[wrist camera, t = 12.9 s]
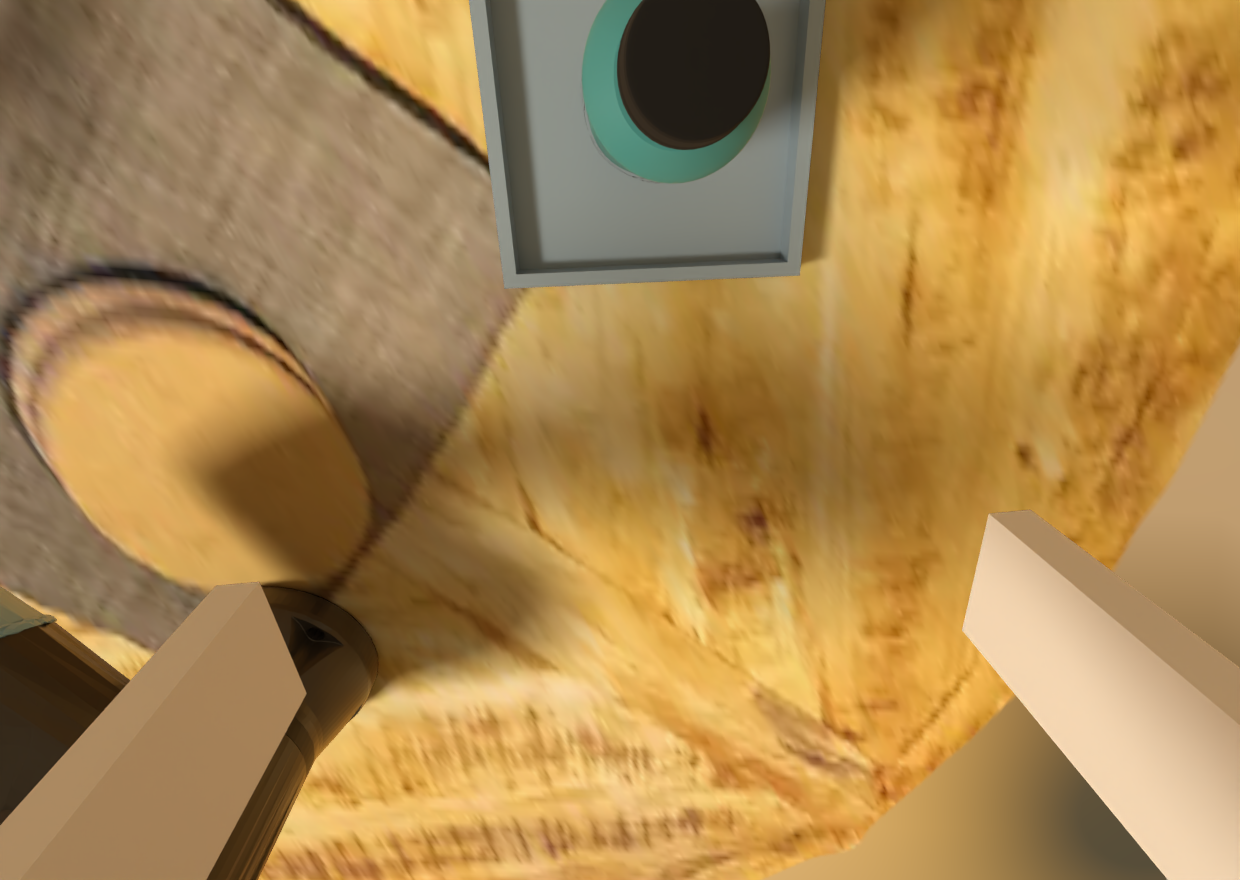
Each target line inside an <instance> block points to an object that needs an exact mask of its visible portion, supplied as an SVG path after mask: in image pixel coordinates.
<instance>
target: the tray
mask: <svg viewBox="0 0 1240 880" xmlns="http://www.w3.org/2000/svg"><path fill="white" fill-rule="evenodd" d="M605 1H606V0H469V5H470V13H471V21H472V29H473V37H474V45H475V53H476V61H477V69H478V77H479V86H480V94H481V102H482V110H483V118H484V126H485V134H486V142H487V150H488V158H489V167H490V175H491V183H492V191H493V199H494V207H495V215H496V223H497V231H498V239H499V248H500V256H501V264H502V272H503V280H504V288H505V289H507V288H529V287H551V286H574V285H596V284H619V283H641V282H663V281H686V280H708V279H730V278H753V277H775V276H797V275H800V267H801V257H802V246H803V235H804V225H805V214H806V203H807V193H808V182H809V171H810V161H811V150H812V139H813V129H814V118H815V108H816V97H817V86H818V76H819V65H820V54H821V44H822V33H823V22H824V12H825V1H826V0H756V1H757V3H758V4H759V6H760V8H761V10H762V12H763V15H764V18H765V20H766V24H767V28H768V33H769V40H770V57H771V80H770V89H769V94H768V99H767V103H766V106H765V109H764V112H763V115H762V118H761V120H760V122H759V124H758V126H757V128H756V130H755V132H754V134H753V135H752V137H751V139H750V140H749V141H748V143H747V144H746V145H745V147H744V148H743V149H742V150H741V151H740V152H739V154H738V155H737V156H736V157H735V158H734V159H733V160H731V161H730V162H729V163H728V164H726V165H725V166H724V167H722V168H721V169H719V170H718V171H716V172H714V173H712V174H710V175H708V176H706V177H704V178H701V179H698V180H695V181H691V182H685V183H673V184H669V183H659V182H657V183H656V182H655V181H652V182H650V181H651V180H647V179H645V178H642V177H640V176H637V175H636V174H634V173H632V172H629V171H626V170H624V169H622V168H620V167H618V166H617V165H615V164H614V163H612V162H611V161H610V160H609V159H608V158H607V157H606V156H605V155H603V152H602V151H601V150H600V148H599V147H598V145H597V143H596V141H595V139H594V137H593V134H592V131H591V128H590V124H589V120H588V115H587V112H586V108H585V107H583V106H585V104H584V99H583V91H582V80H581V79H582V63H583V54H584V49H585V45H586V41H587V38H588V34H589V31H590V28H591V26H592V24H593V22H594V19H595V17H596V15H597V14H598V12H599V10H600V9H601V7H602V6H603V4H604V3H605ZM582 100H583V102H582ZM584 114H585V116H584ZM585 118H586V119H585ZM585 120H586V121H585ZM586 124H587V125H586ZM587 128H588V129H587ZM588 130H589V131H588ZM591 137H592V138H591ZM593 140H594V141H593ZM594 145H595V146H596V147H595V146H594ZM600 151H601V152H602V153H601V152H600ZM601 155H602V156H603V157H602V156H601ZM605 158H607V159H608V160H606V159H605ZM609 163H610V164H612V165H610V164H609ZM613 165H614V166H613ZM615 166H616V167H615ZM625 173H626V174H625ZM629 175H630V176H629ZM632 176H634V178H633V177H632ZM635 176H636V177H638V178H636V177H635ZM643 179H644V180H645V181H642V180H643ZM647 181H648V182H647ZM649 182H650V183H649ZM653 182H654V183H653Z"/></svg>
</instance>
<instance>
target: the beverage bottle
mask: <svg viewBox="0 0 1240 880" xmlns="http://www.w3.org/2000/svg"><path fill="white" fill-rule="evenodd" d="M581 80H582V91H583V99H584V104H585V106H583V107H585V108H586V112H587V115H588V120H589V124H590V128H591V131H592V134H593V137H594V139H595V141H596V143H597V145H598V147H599V148H600V150H601V151H602V152H603V155H605V156H606V157H607V158H608V159H609V160H610V161H611V162H612V163H614V164H615V165H617V166H618V167H620V168H622V169H624V170H626V171H629V172H632V173H634V174H636V175H637V176H640V177H642V178H645V179H647V180H651V181H650V182H652V181H655V182H656V183H657V182H659V183H669V184H673V183H685V182H691V181H695V180H698V179H701V178H704V177H706V176H708V175H710V174H712V173H714V172H716V171H718V170H719V169H721V168H722V167H724V166H725V165H726V164H728V163H729V162H730V161H731V160H733V159H734V158H735V157H736V156H737V155H738V154H739V152H740V151H741V150H742V149H743V148H744V147H745V145H746V144H747V143H748V141H749V140H750V139H751V137H752V135H753V134H754V132H755V130H756V128H757V126H758V124H759V122H760V120H761V118H762V115H763V112H764V109H765V106H766V103H767V99H768V94H769V89H770V80H771V57H770V40H769V33H768V28H767V24H766V20H765V18H764V15H763V12H762V10H761V8H760V6H759V4H758V3H757V1H756V0H606V1H605V3H604V4H603V6H602V7H601V9H600V10H599V12H598V14H597V15H596V17H595V19H594V22H593V24H592V26H591V28H590V31H589V34H588V38H587V41H586V45H585V49H584V54H583V63H582V79H581ZM582 102H583V100H582ZM584 116H585V114H584ZM585 119H586V118H585ZM585 121H586V120H585ZM586 125H587V124H586ZM587 129H588V128H587ZM588 131H589V130H588ZM591 138H592V137H591ZM593 141H594V140H593ZM594 146H595V145H594ZM595 147H596V146H595ZM601 151H600V152H601ZM602 152H601V153H602ZM601 156H602V155H601ZM602 157H603V156H602ZM607 158H605V159H606V160H608V159H607ZM609 164H610V163H609ZM610 165H612V164H610ZM613 166H614V165H613ZM615 167H616V166H615ZM625 174H626V173H625ZM629 176H630V175H629ZM632 177H633V178H634V176H632ZM635 177H636V176H635ZM636 178H638V177H636ZM642 181H645V180H644V179H643V180H642ZM647 182H648V181H647ZM650 182H649V183H650ZM653 183H654V182H653Z"/></svg>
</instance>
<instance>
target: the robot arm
mask: <svg viewBox="0 0 1240 880" xmlns="http://www.w3.org/2000/svg"><path fill="white" fill-rule="evenodd" d="M56 621H57V619H56V618H55V617H53V616H51V615H43V614H42V613H40V612H38V611H37V610H35V609H34V608H32V607H30V606H29V605H27V604H26V603H24V602H23V601H22V600H20V599H19V598H17V597H16V596H14V595H13V594H11V593H10V592H8V591H7V590H5V589H4V588H2V587H0V880H258V879H259V876H260V874H261V872H262V870H263V868H264V866H265V864H266V862H267V860H268V857H269V855H270V853H271V851H272V849H273V847H274V845H275V843H276V841H277V838H278V836H279V834H280V832H281V830H282V828H283V826H284V824H285V821H286V819H287V817H288V815H289V813H290V811H291V809H292V807H293V805H294V802H295V800H296V798H297V796H298V794H299V792H300V790H301V788H302V786H303V783H304V781H305V779H306V777H307V775H308V773H309V771H310V769H311V767H312V765H313V763H314V761H315V759H316V758H317V757H318V756H319V755H320V753H321V752H322V751H323V750H324V749H325V748H326V747H327V746H328V745H329V743H330V742H331V741H332V740H333V739H334V738H335V737H336V736H337V734H338V733H339V732H340V731H341V730H342V729H343V727H344V726H345V725H346V724H347V723H348V722H349V721H350V720H351V719H352V718H353V717H354V716H355V715H356V714H357V713H358V712H359V711H360V710H361V708H362V707H363V705H364V704H365V702H366V700H367V698H368V696H369V693H370V691H371V689H372V687H373V684H374V682H375V680H376V677H377V672H378V658H377V653H376V650H375V647H374V644H373V642H372V640H371V639H370V637H369V635H368V634H367V632H366V631H365V630H364V628H363V627H362V626H361V625H360V624H359V623H358V622H357V621H356V620H355V619H354V618H353V617H352V616H350V615H349V614H348V613H346V612H345V611H344V610H342V609H341V608H339V607H338V606H336V605H334V604H332V603H331V602H329V601H327V600H324V599H322V598H320V597H317V596H315V595H312V594H309V593H306V592H302V591H298V590H293V589H287V588H278V587H261V584H260V582H251V583H240V584H230V585H219V586H215V587H214V588H213V590H212V591H211V592H210V593H209V594H208V595H207V596H206V597H205V598H204V600H203V601H202V602H201V603H200V604H199V605H198V606H197V607H196V608H195V610H194V611H193V612H192V613H191V614H190V615H189V616H188V617H187V618H186V620H185V621H184V622H183V623H182V624H181V625H180V626H179V627H178V628H177V630H176V631H175V632H174V633H173V634H172V635H171V636H170V637H169V638H168V640H167V641H166V642H165V643H164V644H163V645H162V646H161V647H160V648H159V650H158V651H157V652H156V653H155V654H154V655H153V656H152V657H151V658H150V660H149V661H148V662H147V663H146V664H145V665H144V666H143V667H142V668H141V670H140V671H139V672H138V673H137V674H136V675H135V676H134V677H133V678H132V680H131V681H130V680H129V679H128V678H126V677H125V676H124V675H122V674H121V673H120V672H118V671H117V670H116V669H115V668H113V667H112V666H111V665H109V664H108V663H107V662H106V661H104V660H103V659H102V658H100V657H99V656H98V655H97V654H95V653H94V652H93V651H91V650H90V649H89V648H88V647H86V646H85V645H84V644H82V643H81V642H80V641H79V640H77V639H76V638H75V637H73V636H72V635H71V634H70V633H68V632H67V631H66V630H64V629H63V628H62V627H61V626H59V625H58V624H57V623H55V622H56ZM962 631H963V632H964V633H965V634H966V635H967V637H968V638H969V639H970V640H971V641H972V643H973V644H974V645H975V646H976V648H977V649H978V650H979V651H980V652H981V654H982V655H983V656H984V657H985V658H986V660H987V661H988V662H989V663H990V665H991V666H992V667H993V668H994V669H995V671H996V672H997V673H998V674H999V675H1000V677H1001V678H1002V679H1003V680H1004V681H1005V683H1006V684H1007V685H1008V686H1009V688H1010V689H1011V690H1012V691H1013V692H1014V694H1015V695H1016V696H1017V697H1018V698H1019V700H1020V701H1021V702H1022V703H1023V704H1024V706H1025V707H1026V708H1027V709H1028V710H1029V712H1030V713H1031V714H1032V715H1033V717H1034V718H1035V719H1036V720H1037V721H1038V723H1039V724H1040V725H1041V726H1042V728H1043V729H1044V730H1045V731H1046V732H1047V734H1048V735H1049V736H1050V737H1051V738H1052V740H1053V741H1054V742H1055V743H1056V745H1057V746H1058V747H1059V748H1060V749H1061V751H1062V752H1063V753H1064V754H1065V755H1066V756H1067V758H1068V759H1069V760H1070V762H1071V763H1072V764H1073V765H1074V766H1075V768H1076V769H1077V770H1078V771H1079V772H1080V774H1081V775H1082V776H1083V777H1084V778H1085V780H1086V781H1087V782H1088V783H1089V784H1090V786H1091V787H1092V788H1093V789H1094V790H1095V792H1096V793H1097V794H1098V796H1099V797H1100V798H1101V799H1102V800H1103V802H1104V803H1105V804H1106V805H1107V806H1108V808H1109V809H1110V810H1111V811H1112V813H1114V815H1115V816H1116V817H1117V819H1118V820H1119V821H1120V822H1121V823H1122V824H1123V826H1124V827H1125V828H1126V829H1127V831H1128V832H1129V833H1130V834H1131V836H1132V837H1133V838H1134V839H1135V840H1136V842H1137V843H1138V844H1139V845H1140V846H1141V848H1142V849H1143V850H1144V851H1145V853H1146V854H1147V855H1148V856H1149V857H1150V858H1151V860H1152V861H1153V862H1154V863H1155V865H1156V866H1157V867H1158V868H1159V870H1160V871H1161V872H1162V873H1163V874H1164V875H1165V877H1166V878H1167V879H1168V880H1240V668H1239V667H1238V666H1237V665H1235V664H1234V663H1233V662H1231V661H1230V660H1229V659H1227V658H1226V657H1225V656H1223V655H1222V654H1221V653H1220V652H1218V651H1217V650H1216V649H1214V648H1213V647H1212V646H1210V645H1209V644H1207V643H1206V642H1204V640H1202V639H1201V638H1200V637H1198V636H1197V635H1195V634H1194V633H1193V632H1192V631H1190V630H1189V629H1187V628H1186V627H1185V626H1184V625H1182V624H1181V623H1180V622H1178V621H1177V620H1176V619H1175V618H1173V617H1172V616H1171V615H1169V614H1168V613H1167V612H1165V611H1164V610H1162V609H1161V608H1160V607H1159V606H1157V605H1156V604H1154V603H1153V602H1152V601H1150V600H1149V599H1148V598H1147V597H1145V596H1144V595H1143V594H1141V593H1140V592H1139V591H1137V590H1136V589H1135V588H1133V587H1132V586H1131V585H1129V584H1128V583H1127V582H1126V581H1124V580H1123V579H1122V578H1120V577H1119V576H1118V575H1116V574H1115V573H1114V572H1112V571H1111V570H1110V569H1108V568H1107V567H1106V566H1104V565H1103V564H1102V563H1100V562H1099V561H1098V560H1096V559H1095V558H1094V557H1092V556H1091V555H1090V554H1088V553H1087V552H1086V551H1084V550H1083V549H1082V548H1081V547H1079V546H1078V545H1077V544H1075V543H1074V542H1073V541H1071V540H1070V539H1069V538H1067V537H1066V536H1065V535H1063V534H1062V533H1061V532H1059V531H1058V530H1057V529H1055V528H1054V527H1053V526H1051V525H1050V524H1049V523H1047V522H1046V521H1045V520H1043V519H1042V518H1041V517H1039V516H1038V515H1037V514H1036V513H1034V512H1033V511H1032V510H1022V511H1012V512H1001V513H990V514H989V515H988V520H987V524H986V528H985V533H984V537H983V541H982V546H981V550H980V555H979V559H978V563H977V568H976V572H975V576H974V581H973V585H972V589H971V594H970V598H969V602H968V607H967V611H966V615H965V620H964V624H963V628H962Z"/></svg>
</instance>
